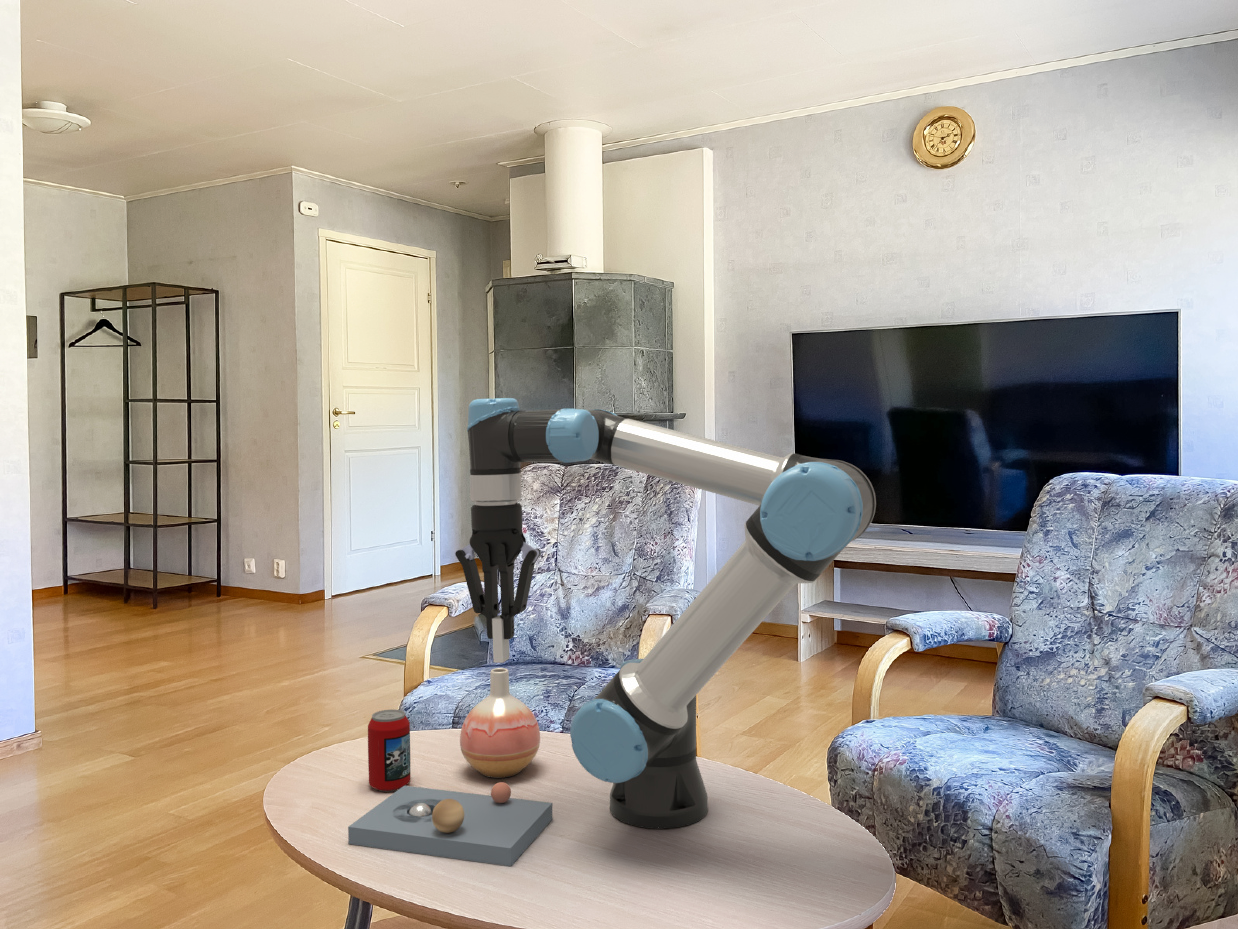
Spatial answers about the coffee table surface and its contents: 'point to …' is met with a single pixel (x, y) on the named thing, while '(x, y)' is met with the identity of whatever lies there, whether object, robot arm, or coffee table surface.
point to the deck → (480, 838)
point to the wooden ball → (448, 815)
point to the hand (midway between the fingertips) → (501, 660)
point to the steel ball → (420, 810)
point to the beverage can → (389, 750)
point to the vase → (500, 731)
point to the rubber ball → (500, 792)
